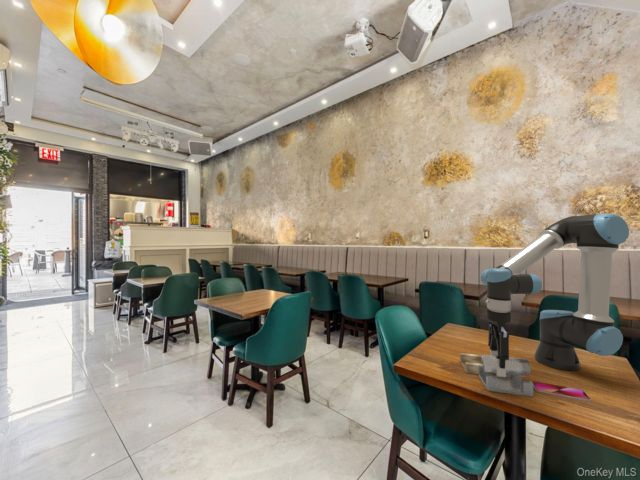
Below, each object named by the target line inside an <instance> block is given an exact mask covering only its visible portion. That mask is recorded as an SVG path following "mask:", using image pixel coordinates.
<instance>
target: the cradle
mask: <svg viewBox="0 0 640 480" xmlns="http://www.w3.org/2000/svg"><path fill="white" fill-rule="evenodd" d="M478 377H479V378H480V380H481V382H482V383H483V385H484V387H485V388H486V390H487V391H488V392H494V393H504V394H508V395H511V394H512V395H518V396H523V397H524V396H525V397H532V398H533V397H534V386H533V383H532V381H531V380H528V379H527V380H526V379H523V378H522V377H523V376H517V375H510V377H500V376H495V375H489V372H484V370H483V368H482V365H479V374H478Z"/></svg>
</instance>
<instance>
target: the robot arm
mask: <svg viewBox="0 0 640 480" xmlns="http://www.w3.org/2000/svg"><path fill="white" fill-rule="evenodd" d="M629 236H630V227H629V225H628V223H627V221H626V220H625V219H624V218H623V217H622V216H620V215H619V214H616V213H593V214H584V215H571V216H567V217H564V218H561V219H560V220H557V221H556V222H554V223H552V224H550V225H548V227H546V228H544V229H543V230H541V231H540V233H539V236H537V237H536V238H535V239H534V240H532V241H531V242H530V243H528V244H526V245H525V246H524V247H523V248H521V249H519V250H518V251H517V252H516V253H514V254H513V255H512V256H510V257H509V258H507V259H506V260H504V261H503V262H502V263H501V264H499V265H498V266H496V267H495V268H494V267H493V268H491V267H490V268H487V269H483V271H482V272H481V274H480V281H481V282H482V284H483V285H485V286H486V300H485V303H486V308H487V309H486V319H487V320H488V342H487V343H488V344H487V345H488V347H489V351H490V354H489V355H494V356H498V357H496V359H497V371H496V375H497V376H500V377H506V360H509V357H510V349H509V348H510V344H509V343H510V342H509V341H510V332H509V331H507V327H506V324H508V323H510V322H511V321H512V320H511V319H512V318H511V317H512V316H511V310H512V295H533V294H539V293H540V292H541V290H542V288H543V282H542V279H541V278H540V277H539V276H538V275H537V274H534V273H533V274H532V273H524V272H525V271H526V270H528V269H529V268H530V267H533V265H534V264H536V263H537V262H539V261H540V260H541V259H543V258H544V257H546V256H547V255H549V253H551V252H552V251H554V250H556V249H557V250H558V249H561V248H562V247H564V246H566V245H570V244H571V245H572V244H576V248H577V249H578V250H580V252H581V253H580V255H581V256H580V269H579V271H580V272H579V273H580V274H579V289H578V307H577V308H578V309H577V311H575V312H573V311H572V310H571V311H570V310H563V309H562V310H560V309H559V310H558V309H544V310H542V311H540V312H539V313H540V315H539V344H537V345H538V346H537V348H536V350H535V352H534V359H535V361H537V362H538V363H540V364H543V365H545V366H547V367H550V368H553V369H557V370H564V371H579V370H580V368H581V361H580V358H579V357H578V355H577V352H576V348H578V349H581V350H584V351H587V352H589V353H590V354H595V355H598V356H601V357H607V356H612V355H614V354H615V353H617V351H619V350H620V348H621V347H622V345H623V341H624V336H623V335H624V334H623V333H622V331H621V330H620V329H619V328H618V327H615V320H614V319H613V318H612V317H610V301H611V300H610V299H611V298H610V297H611V285H612V284H611V282H612V269H613V268H612V265H613V253H615V252H616V251H618V250H619V245H621V244H624V243H625V242H627V239H629Z"/></svg>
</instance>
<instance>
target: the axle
mask: <svg viewBox="0 0 640 480" xmlns="http://www.w3.org/2000/svg"><path fill="white" fill-rule="evenodd" d="M481 355H482V357H481V363H482V368H483V370H484V372H492V373H496V371H497V359H496V357H498V356H494V355H490V354H481ZM531 369H532V368H531V365H530V362H529V361H528V358H520V357H513V356H512V357H511V356H509V360H506V374H509V375H517V376H522V377H525V378H526V377H527V378H528V377H530V376H531V372H532V371H531Z"/></svg>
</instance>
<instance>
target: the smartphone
mask: <svg viewBox="0 0 640 480" xmlns="http://www.w3.org/2000/svg"><path fill="white" fill-rule="evenodd" d="M531 382H532V383H533V389H534V390H535V391H537V392H539V393H544V394H547V395H549V394H550V395H554V396H559V397H564V398H569V399H572V400H573V399H574V400H579V401H584V402H589V403H590V402H591V398H590V396H589V395H588V394H587V393H586V391H584V390H583V389H580V388H575V387H569V386H566V385H565V386H563V385H559V384H552V383H546V382H540V381H535V380H532V381H531Z"/></svg>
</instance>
